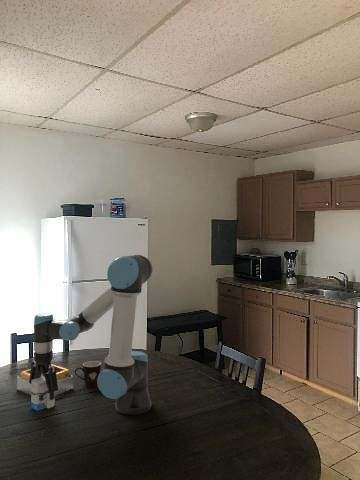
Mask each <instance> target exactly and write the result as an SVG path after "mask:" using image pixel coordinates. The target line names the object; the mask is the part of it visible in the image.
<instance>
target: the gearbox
mask: <svg viewBox="0 0 360 480" xmlns="http://www.w3.org/2000/svg"><path fill="white" fill-rule="evenodd" d="M51 366H53V367H54V366H56V377H57V384H58V390H57V391H55V397H56V396H58V395H60V394H62V393H63V394H64V393H66V392H68V391H70V389H71V390H73V389H74V375H72V374H71V373H70V369H68V368H65V367H62V366H57V365H56V364H52V363H51ZM30 372H31V368H30V369H26V370H24V371H21V372H20V374H19V375H18V376H17V377H16V380H17V381H16V384H17V386H16V390H18V391H20V392H23V393H25V394H28V395H30V396H31V384H29V379H30ZM48 373H49V372H48ZM48 373H46V374H48ZM41 377H44V376H43V374H41ZM32 380H33V379H32ZM65 391H66V392H65Z"/></svg>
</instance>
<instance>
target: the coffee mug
mask: <svg viewBox="0 0 360 480" xmlns="http://www.w3.org/2000/svg"><path fill="white" fill-rule="evenodd" d="M101 367H102V362H100V361H97V360H90V361H85V362H84V363H82V367H77V368H76V369H75V370H74V374H75V376H77V378H80V379H81V380H82V381H84V385H85V387H87V388H95V387H98V384H97V378H98V376H99V374H100V372H101ZM77 370H81V371H82V372H83V377H82V376H80V375H78V373H77V372H78V371H77Z"/></svg>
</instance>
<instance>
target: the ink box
mask: <svg viewBox="0 0 360 480" xmlns="http://www.w3.org/2000/svg"><path fill="white" fill-rule="evenodd" d="M47 392H49V391H48V387H47V384H46V380H45V377H40V378H37V379H33V380H32V384H31V395H30V396H31V397H30V409H32V410H34V411H37V412H39V411H42V410H45V409H48V408H47ZM55 397H56V396H55V392H54V406H55V405H56V403H55V402H56V398H55Z"/></svg>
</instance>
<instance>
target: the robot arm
mask: <svg viewBox="0 0 360 480" xmlns="http://www.w3.org/2000/svg"><path fill="white" fill-rule="evenodd" d="M152 275H153V265H152V262H151V260H149V258H148V257H146V256H145V255H141V254H135V255H123V256H120V257H116V258H115V259H114V260H113V261H111V263H110V264H109V266H108V268H107V270H106V277H107V280H108V283H109V284H110V285H109V286H108V287H107V288H106V289H105V290H104V291H103V292H102V293H101V294H100V295H98V296H97V297H96V298H95V299H94V300H93V301H91V303H89V304H88V305H87V306H86V307H85V308H84V309H83V310H82V311H81V312H80V313H79V314H78V315H76V316H72V317H71V318H70V317H69V318H67V319H64V320H59V319H58V320H57V319H54V314H52V313H48V312H47V313H46V312H45V313H43V312H42V313H38V314H35V315H34V319H33V351H34V352H33V361H31V362H30V367H31V368H30V369H31V372H30V379H29V384H32V379H37V378H40V377H41V374H43V376H44V377H45V380H46V384H47V387H48V391H49V392H47V408H46V409H50V408H53V407H55V405H54V392H55V391H57V390H58V384H57V377H56V366H57V365H56V366H54V367H53V366H51V364H52V363H51V362H52V360H53V357H54V355H53V354H54V353H53V352H54V351H53V349H54V347H53V345H54V343H53V340H54V339H56V340H64V341H75V340H76V339H77V338H78V337H79V334H82V333H84V332H88V331H89V330H91V329H92V328H94V326H95V323H97V322H98V320H100V319H101V318H102V317H103V316H104V315H106V314H107V313H108V312H109V311H110V310H111V309H113V310H112V318H111V319H112V320H111V328H110V329H111V331H110V341H109V349H108V350H109V351H108V355H107V356H106V357H105V358H104V362H103V369H102V370H100V374H99V376H98V378H97V384H98V386H97V387H98V389H99V391H100V392H101V393H102V395H103V396H104V397H106V398H108V399H114V400H115V407H114V408H115V410H116V411H117V412H118V413H120V414H122V415H127V416H128V415H130V416H131V415H132V416H133V415H134V416H135V415H141V414H145V413H146V412H149V411H150V410H151V408H152V399H151V397H150V393H149V389H148V377H149V376H148V374H149V372H148V371H149V369H148V367H149V360H148V354H147V353H146V352H143V351H136V350H132V349H133V339H134V329H135V319H136V310H137V299H138V296H139V295H141V293H142V289H143V288H142V287H143V285H144V284H145V283H146V282H147V281H149V279H151V276H152ZM48 372H49V373H48ZM46 373H48V374H46Z"/></svg>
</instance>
